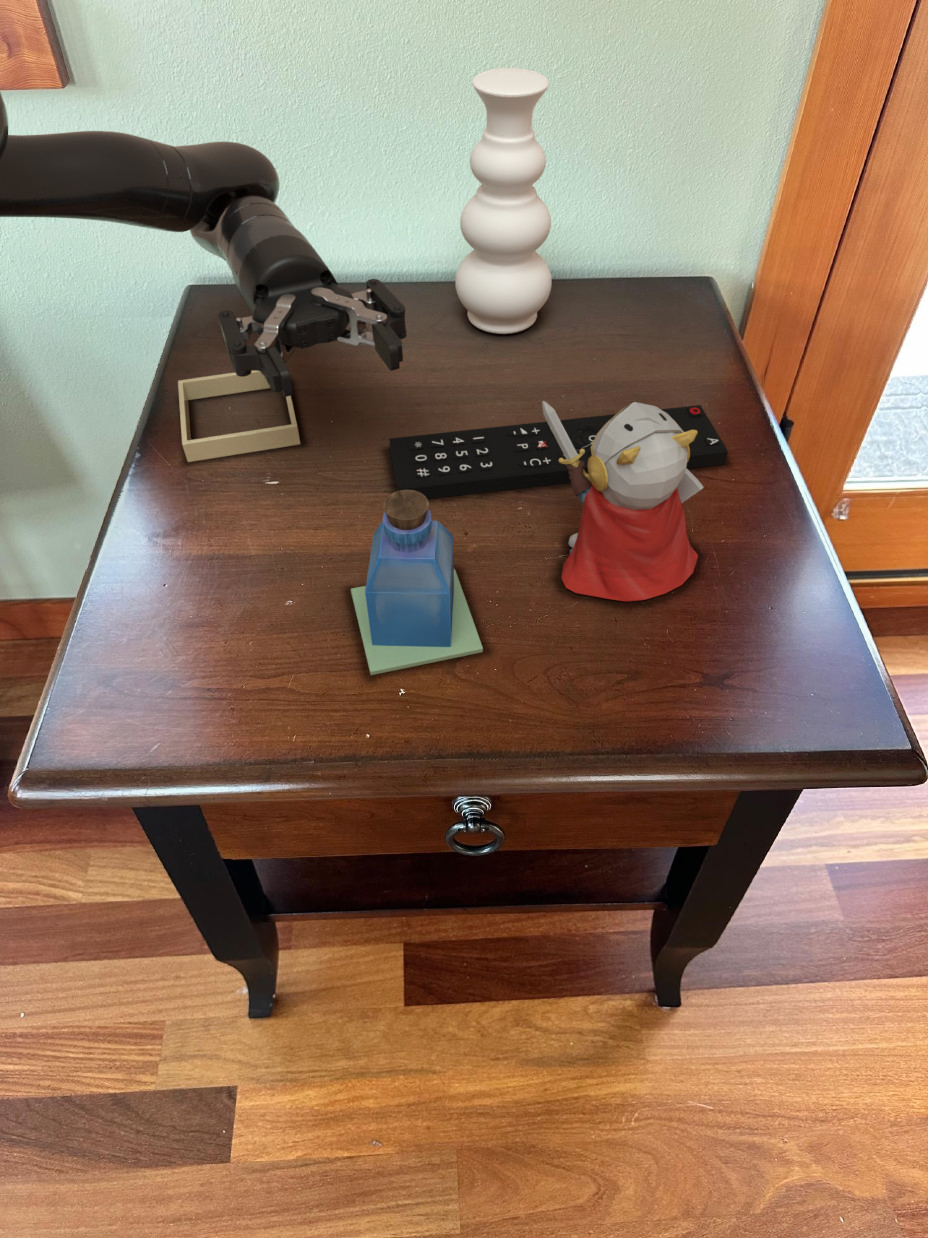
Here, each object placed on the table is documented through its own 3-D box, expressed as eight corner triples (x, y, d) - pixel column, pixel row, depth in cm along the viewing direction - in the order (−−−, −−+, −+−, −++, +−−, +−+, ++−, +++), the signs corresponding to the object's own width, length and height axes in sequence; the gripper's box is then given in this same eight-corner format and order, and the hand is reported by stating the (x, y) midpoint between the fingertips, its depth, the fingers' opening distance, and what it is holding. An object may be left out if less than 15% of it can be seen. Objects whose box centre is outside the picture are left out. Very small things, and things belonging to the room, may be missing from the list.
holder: (187, 462, 81) (181, 444, 79) (183, 398, 88) (177, 380, 86) (300, 444, 83) (297, 426, 81) (287, 382, 90) (284, 364, 88)
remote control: (727, 464, 81) (732, 447, 79) (399, 502, 77) (398, 485, 76) (699, 417, 86) (703, 400, 84) (390, 451, 82) (388, 434, 81)
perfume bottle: (379, 587, 70) (366, 475, 61) (454, 589, 69) (452, 476, 60) (372, 645, 66) (357, 534, 56) (450, 647, 65) (448, 535, 56)
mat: (370, 675, 64) (370, 671, 64) (351, 592, 70) (350, 588, 70) (483, 652, 66) (483, 648, 65) (455, 572, 71) (454, 568, 71)
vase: (437, 314, 99) (430, 72, 80) (509, 287, 103) (519, 51, 84) (493, 355, 93) (501, 105, 74) (567, 324, 97) (592, 80, 78)
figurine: (671, 502, 77) (706, 358, 66) (714, 592, 70) (762, 448, 58) (532, 518, 76) (544, 373, 64) (562, 611, 69) (581, 467, 57)
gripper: (188, 250, 68) (239, 349, 58) (354, 218, 72) (427, 305, 62) (210, 334, 73) (259, 437, 64) (362, 300, 77) (431, 392, 68)
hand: (342, 372), depth 63 cm, fingers open, 8 cm apart
